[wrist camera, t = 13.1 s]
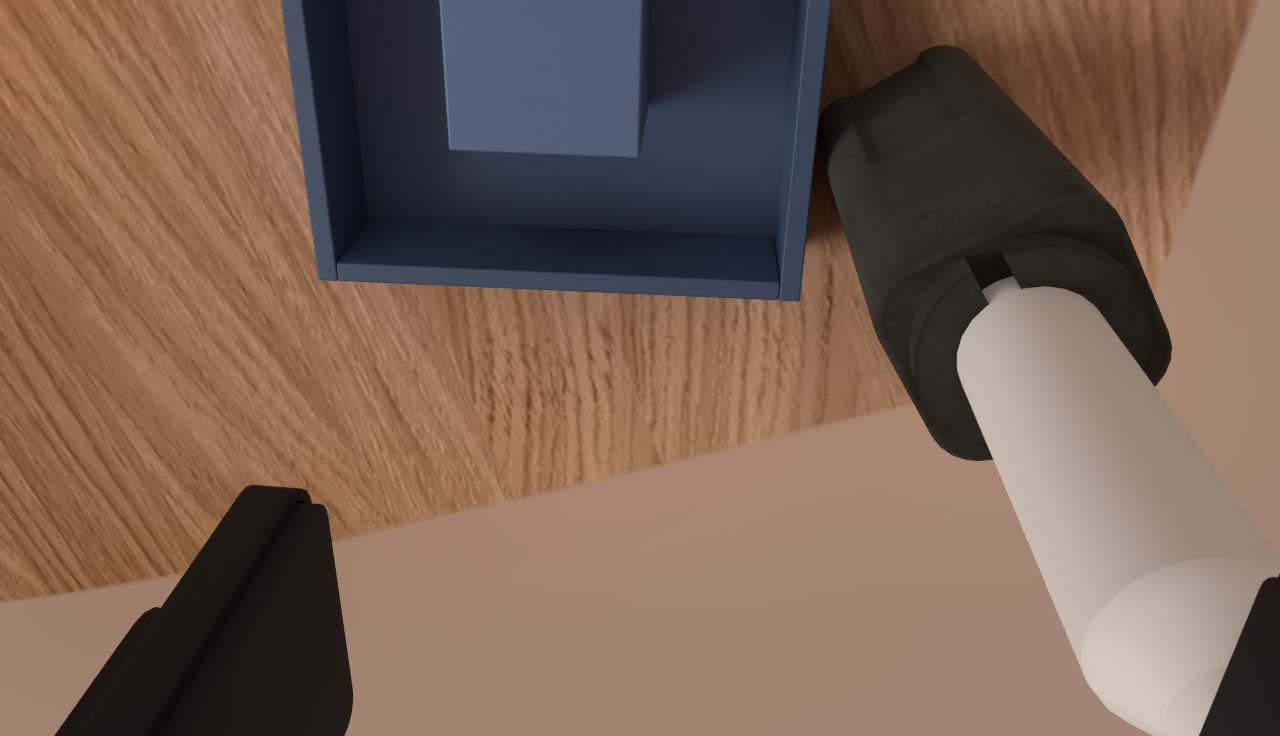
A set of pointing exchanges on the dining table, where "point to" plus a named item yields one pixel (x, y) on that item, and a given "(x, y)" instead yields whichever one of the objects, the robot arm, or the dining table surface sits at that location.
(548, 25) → the blue block
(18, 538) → the dining table surface
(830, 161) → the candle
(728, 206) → the blue bin
